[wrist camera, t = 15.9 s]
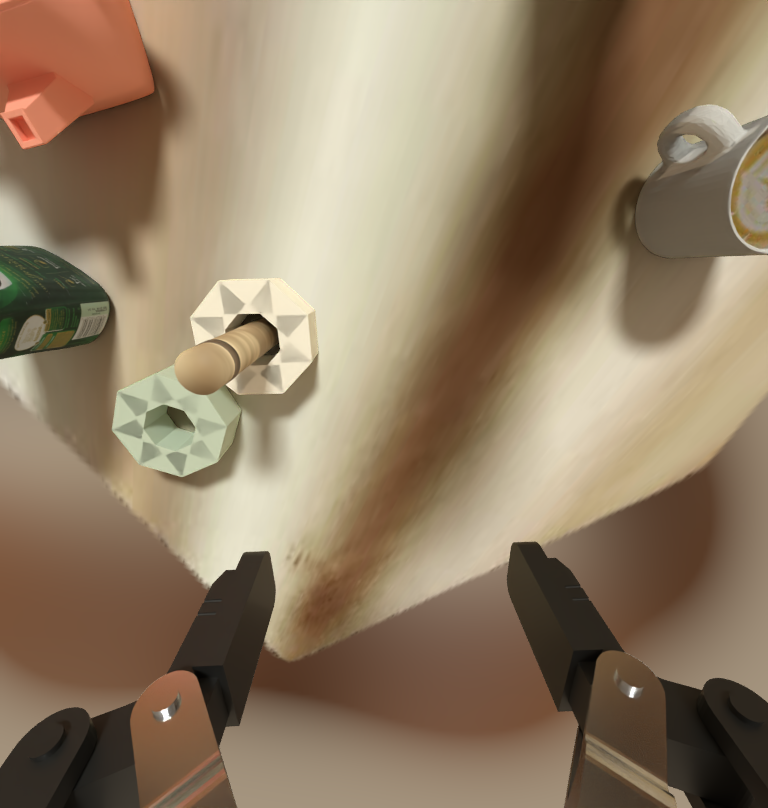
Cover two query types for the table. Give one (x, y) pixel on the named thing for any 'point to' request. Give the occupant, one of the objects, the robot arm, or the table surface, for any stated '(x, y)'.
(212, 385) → the grooved wooden dowel
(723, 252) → the coffee mug
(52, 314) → the coffee jar
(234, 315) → the cream octagonal ring
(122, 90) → the teapot
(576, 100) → the table surface
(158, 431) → the sage bead
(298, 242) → the table surface
